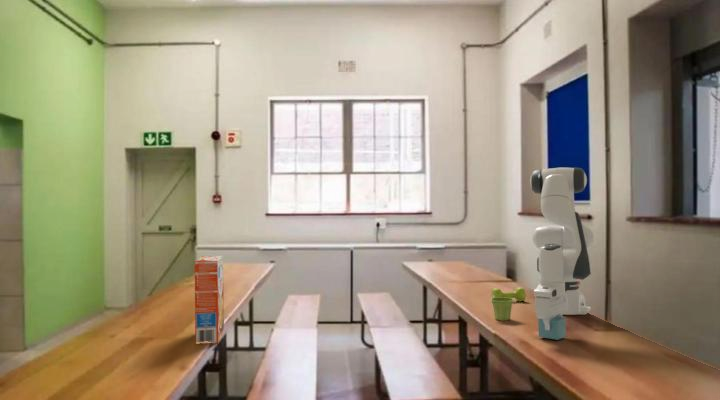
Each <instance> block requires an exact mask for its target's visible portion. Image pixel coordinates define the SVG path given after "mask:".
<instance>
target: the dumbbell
mask: <svg viewBox="0 0 720 400" xmlns="http://www.w3.org/2000/svg"><path fill="white" fill-rule="evenodd" d="M490 294H491V298H496V297H506V298H512V299H515V301H516V302H518V301H524V302H525V301H526V297H527V295H526V290H525V288H524V287H520V286H518V287H515V290H514V291H507V292H505V291H504V292H502V290H501V289H500V288H496V287H495V288H492V289H491V293H490Z"/></svg>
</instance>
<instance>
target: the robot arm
mask: <svg viewBox="0 0 720 400" xmlns="http://www.w3.org/2000/svg"><path fill="white" fill-rule="evenodd" d="M529 179H530V180H529V185H530V188H531V190H532V192H533V193H535V194H539V195H540V209H541V210H540V211H541V214H542V215H543V217H544V219H546V220H547V221H549V222H551V223H553V224H555V225H544V226H538V227H536V228H535V230H534V231H533V233H532V241H533V244H534V246H535V247H536V248H537V249H539V252H538V253H539V255H538V257H537V259H536V266H537V267H536V268H537V272H538V273H539V279H538V284H537V287H536V288H535V289H534V290H533V296H534V297H535V299H534V309H535V317H536V318H537V319H538V320H539V319H543V322H544V324H545V330H551V325H550V318H551V317H553V316H555V317H562V318H563V315H565V316H566V315H567V316H572V315H574V316H575V315H588V313H590V311H591V307H590V306H586V297H585V295H584V294H583V293H582V292H581V291H580V289H579V288H580V285H581V281H583V280H584V279H587V278H588V277H589V276H591V275H592V274H591V273H592V270H593V265H592V260H591V258H590V255H589V252H588V249H590V247H591V246H592V245H593V244H594V240H595V236H594V233H593V230H592V229H591V228H590V227H588V226H586V225H585V224H584V223H582V219H581V216H580V214H579V212H577V211H576V208H575V207H576V206H575V194H579V193H581V192H583V191H584V190H585V189H586V186H587V184H588V183H587V182H588V178H587V175H586V173H585V170H584V169H583V168H581V167H554V168H553V167H552V168H544V169H541V168H539V169H535V170H534V171H533V172H532V173H531V175H530V178H529ZM563 250H564V251H563ZM580 280H581V281H580Z"/></svg>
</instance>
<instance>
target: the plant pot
mask: <svg viewBox="0 0 720 400" xmlns="http://www.w3.org/2000/svg"><path fill="white" fill-rule="evenodd" d="M514 299H515V298H506V297H496V298H492V297H491V298H490V301H491V302H492V307H493V314H494V319H495V320H498V321H500V322H503V321H504V322H505V321H506V322H507V321H510V320H511V314H512V313H511V312H512V309H513V308H512V306H513V304H514V303H513V302H514V301H515V300H514Z"/></svg>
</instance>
